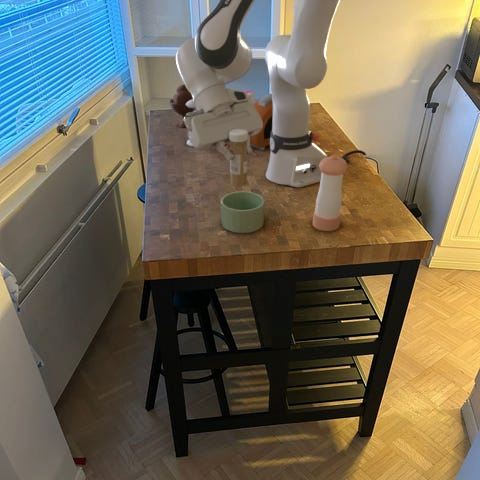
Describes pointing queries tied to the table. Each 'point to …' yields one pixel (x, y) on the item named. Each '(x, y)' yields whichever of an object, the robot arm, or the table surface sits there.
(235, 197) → the cup
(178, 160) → the table surface
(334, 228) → the salt shaker
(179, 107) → the brown teddy bear
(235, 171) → the sprinkles bottle
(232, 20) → the robot arm
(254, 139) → the alarm clock
